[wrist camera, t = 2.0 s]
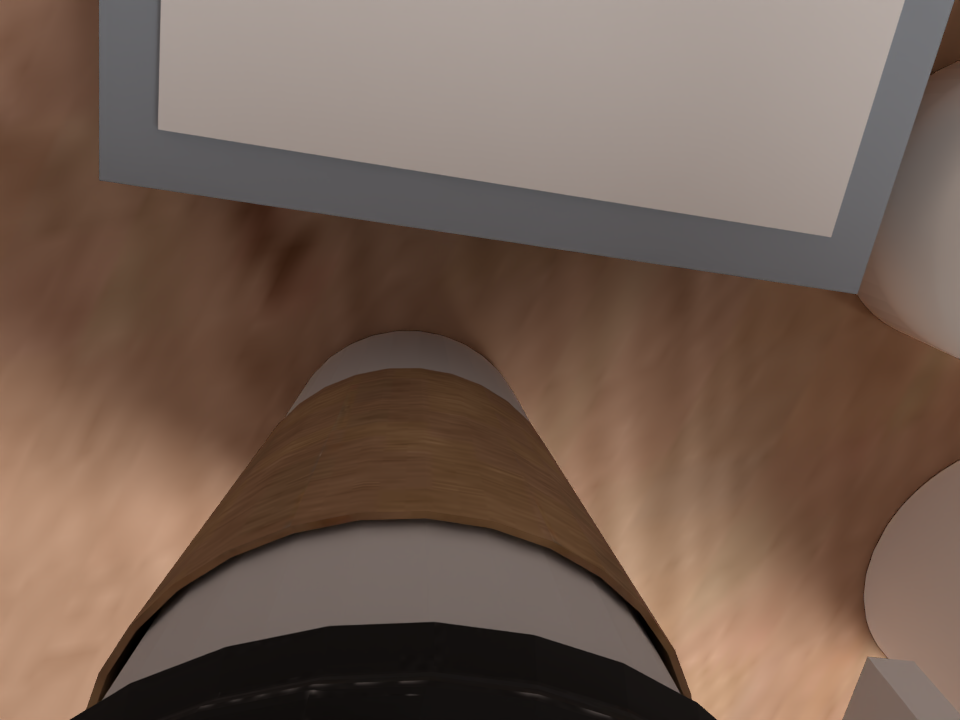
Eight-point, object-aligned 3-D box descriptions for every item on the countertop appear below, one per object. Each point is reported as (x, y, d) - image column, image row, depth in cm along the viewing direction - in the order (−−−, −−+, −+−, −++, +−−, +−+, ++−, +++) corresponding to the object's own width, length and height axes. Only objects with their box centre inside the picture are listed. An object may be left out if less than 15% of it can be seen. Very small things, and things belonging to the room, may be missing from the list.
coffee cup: (430, 205, 17) (490, 694, 3) (632, 456, 19) (1203, 1383, 5) (167, 420, 18) (-734, 1538, 4) (390, 630, 21) (330, 1764, 6)
